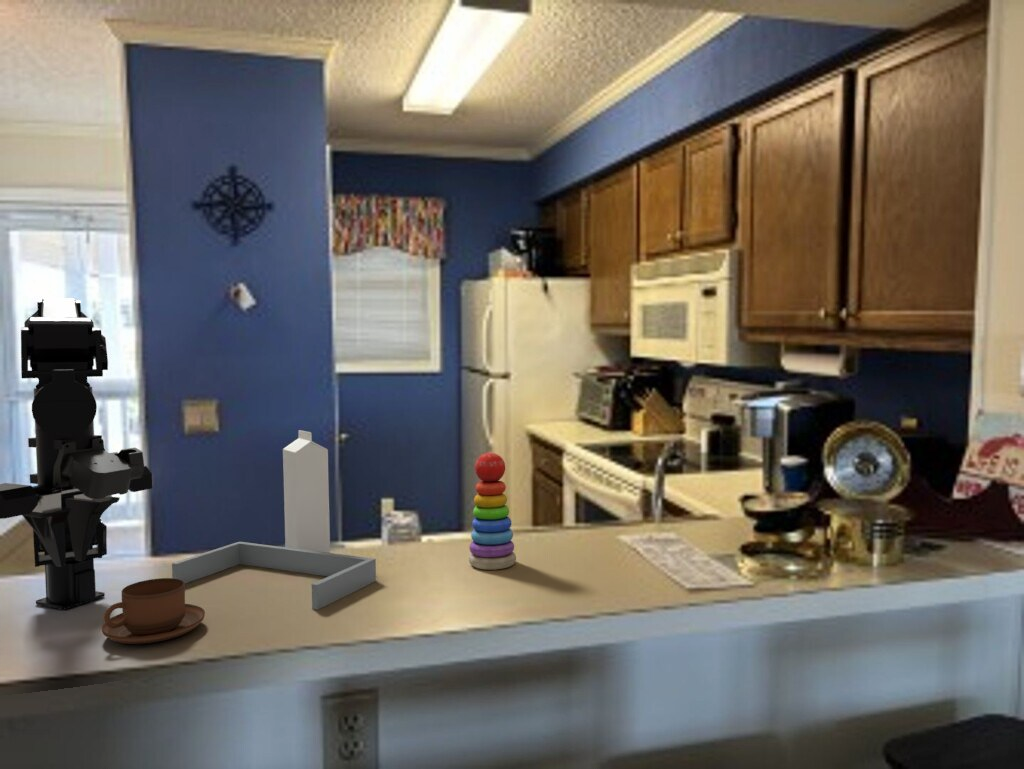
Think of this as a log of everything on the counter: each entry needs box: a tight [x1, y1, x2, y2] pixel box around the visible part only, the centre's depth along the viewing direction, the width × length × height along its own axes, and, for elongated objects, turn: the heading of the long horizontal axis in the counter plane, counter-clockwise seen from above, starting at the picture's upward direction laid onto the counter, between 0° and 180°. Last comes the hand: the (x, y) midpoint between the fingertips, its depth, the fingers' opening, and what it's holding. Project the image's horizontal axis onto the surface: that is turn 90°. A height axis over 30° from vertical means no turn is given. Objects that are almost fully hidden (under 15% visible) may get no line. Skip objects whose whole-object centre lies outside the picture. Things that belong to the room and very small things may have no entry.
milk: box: [282, 429, 331, 553], centre depth 132 cm, size 6×6×22 cm
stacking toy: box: [468, 452, 517, 571], centre depth 125 cm, size 8×8×19 cm
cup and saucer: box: [101, 577, 206, 645], centre depth 96 cm, size 12×12×6 cm
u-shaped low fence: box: [171, 541, 377, 610], centre depth 116 cm, size 28×14×4 cm, turn 66°
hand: (70, 563), depth 86 cm, fingers closed
